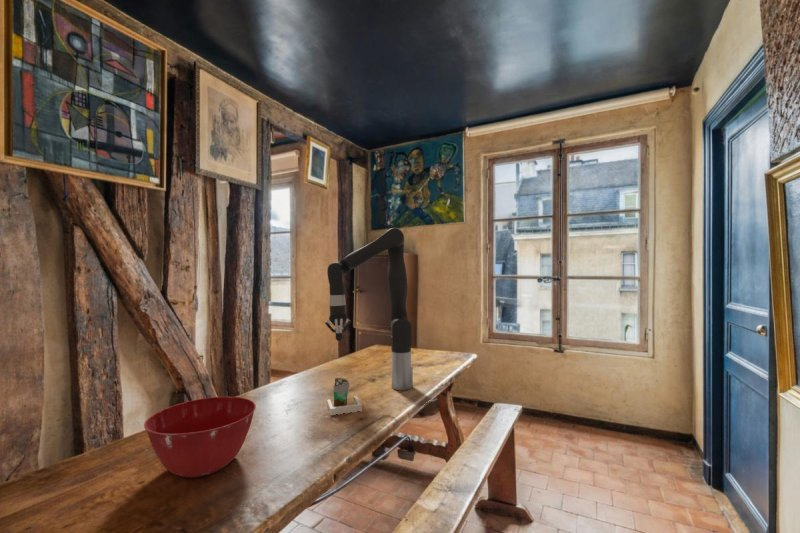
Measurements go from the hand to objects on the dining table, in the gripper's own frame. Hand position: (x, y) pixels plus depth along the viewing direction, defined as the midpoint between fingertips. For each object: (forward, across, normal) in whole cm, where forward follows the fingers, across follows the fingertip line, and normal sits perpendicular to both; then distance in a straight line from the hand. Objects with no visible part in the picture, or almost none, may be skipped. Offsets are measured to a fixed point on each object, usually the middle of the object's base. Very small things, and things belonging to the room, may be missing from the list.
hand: (338, 340), depth 176 cm
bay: (+22, -2, -26) cm, 35 cm away
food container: (+23, -3, -23) cm, 33 cm away
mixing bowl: (+22, -48, -56) cm, 77 cm away
